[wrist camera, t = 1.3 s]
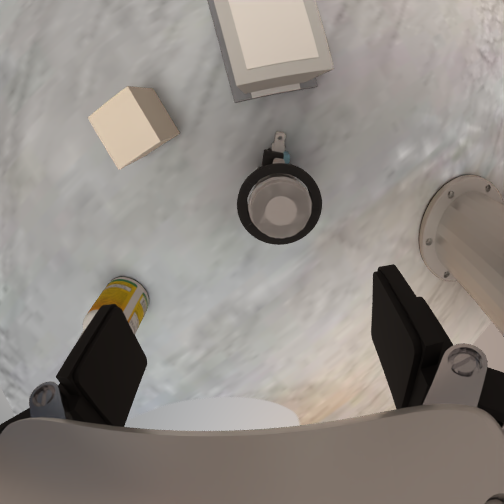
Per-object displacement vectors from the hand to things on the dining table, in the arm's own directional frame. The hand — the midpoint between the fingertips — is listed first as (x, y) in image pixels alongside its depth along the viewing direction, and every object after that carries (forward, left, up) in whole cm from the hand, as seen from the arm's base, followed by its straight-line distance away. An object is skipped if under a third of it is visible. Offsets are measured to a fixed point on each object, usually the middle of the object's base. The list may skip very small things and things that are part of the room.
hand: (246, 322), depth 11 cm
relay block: (+8, -8, -19) cm, 22 cm away
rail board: (-4, -21, -19) cm, 28 cm away
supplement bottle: (+17, +9, -19) cm, 27 cm away
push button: (-2, -1, -19) cm, 19 cm away
